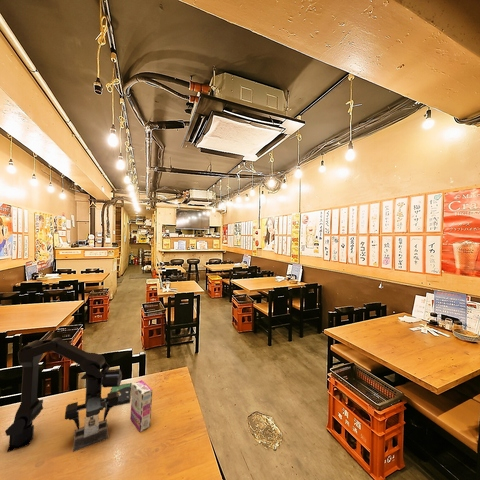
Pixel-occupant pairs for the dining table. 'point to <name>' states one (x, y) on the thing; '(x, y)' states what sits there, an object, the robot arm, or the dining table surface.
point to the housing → (91, 425)
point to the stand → (90, 440)
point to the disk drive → (123, 393)
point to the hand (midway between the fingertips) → (91, 424)
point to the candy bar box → (141, 405)
